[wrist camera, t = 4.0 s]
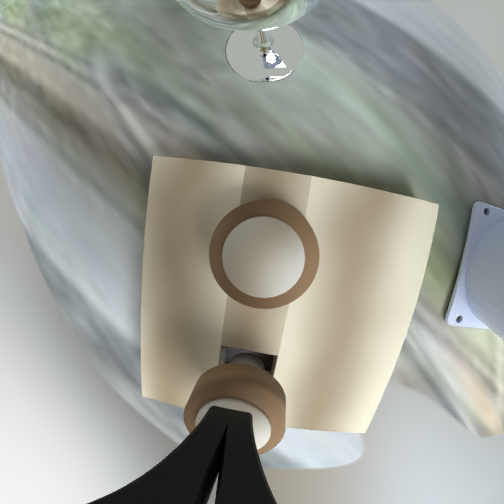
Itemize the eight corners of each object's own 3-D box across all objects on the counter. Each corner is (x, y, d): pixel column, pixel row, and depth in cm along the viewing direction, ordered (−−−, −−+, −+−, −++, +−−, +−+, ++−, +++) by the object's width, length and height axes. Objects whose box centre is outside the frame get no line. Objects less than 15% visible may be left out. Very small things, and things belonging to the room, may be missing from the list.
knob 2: (294, 340, 16) (295, 401, 11) (278, 403, 17) (274, 467, 12) (211, 326, 16) (183, 380, 11) (204, 390, 17) (180, 449, 12)
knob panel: (416, 200, 16) (439, 204, 13) (357, 404, 19) (365, 432, 16) (173, 159, 17) (153, 155, 14) (158, 371, 20) (142, 395, 17)
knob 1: (316, 203, 17) (330, 211, 12) (302, 282, 18) (308, 319, 13) (235, 190, 17) (214, 193, 12) (224, 269, 18) (201, 301, 13)
